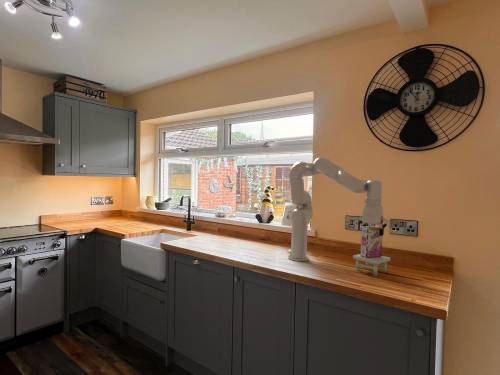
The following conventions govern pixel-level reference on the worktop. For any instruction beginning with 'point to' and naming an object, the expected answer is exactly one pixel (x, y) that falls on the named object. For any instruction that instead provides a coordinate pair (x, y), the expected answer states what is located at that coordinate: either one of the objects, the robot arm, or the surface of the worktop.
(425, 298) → the worktop surface
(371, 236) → the candy bar box
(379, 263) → the step stool
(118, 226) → the worktop surface
